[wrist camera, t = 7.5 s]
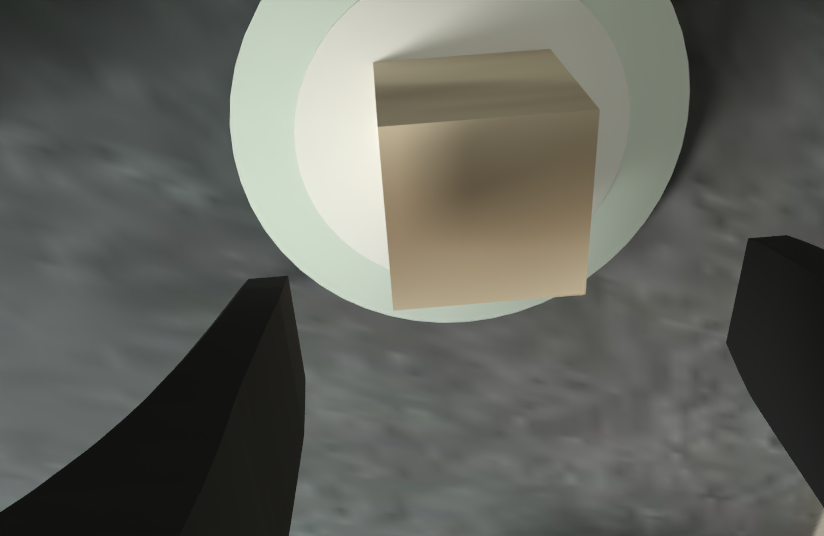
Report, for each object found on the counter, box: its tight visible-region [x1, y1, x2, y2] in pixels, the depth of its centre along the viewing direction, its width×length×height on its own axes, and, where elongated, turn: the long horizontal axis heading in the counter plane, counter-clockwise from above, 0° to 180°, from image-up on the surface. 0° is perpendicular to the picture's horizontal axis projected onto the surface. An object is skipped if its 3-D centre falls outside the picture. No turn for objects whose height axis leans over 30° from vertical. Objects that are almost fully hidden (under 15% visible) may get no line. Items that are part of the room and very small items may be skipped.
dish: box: [230, 0, 690, 323], centre depth 18 cm, size 11×11×1 cm
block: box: [373, 49, 600, 311], centre depth 16 cm, size 4×4×4 cm
